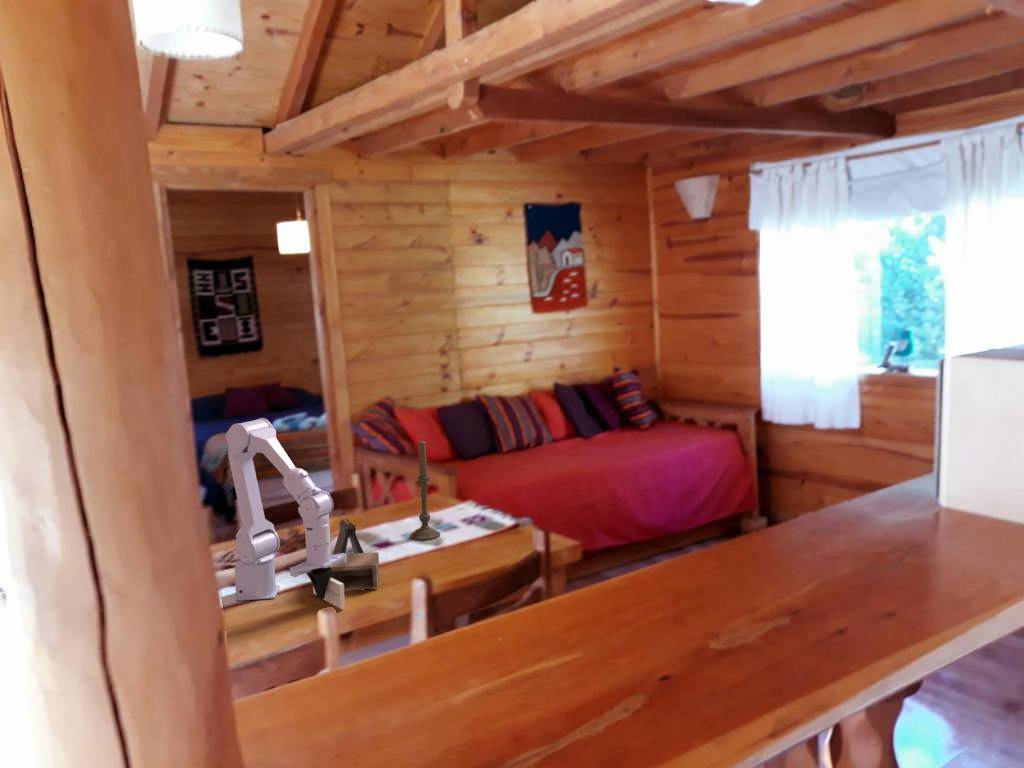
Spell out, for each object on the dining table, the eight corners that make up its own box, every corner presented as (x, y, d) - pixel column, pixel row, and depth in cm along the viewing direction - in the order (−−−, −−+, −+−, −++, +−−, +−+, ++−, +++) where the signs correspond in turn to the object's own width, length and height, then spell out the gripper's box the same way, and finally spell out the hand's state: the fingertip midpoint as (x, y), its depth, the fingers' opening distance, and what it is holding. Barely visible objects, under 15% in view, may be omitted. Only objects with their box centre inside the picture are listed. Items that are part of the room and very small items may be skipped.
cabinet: (313, 593, 211) (311, 568, 210) (318, 579, 221) (316, 555, 220) (377, 589, 212) (376, 564, 212) (379, 576, 222) (378, 552, 222)
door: (309, 594, 209) (307, 571, 208) (316, 592, 210) (315, 569, 210) (337, 610, 198) (335, 586, 198) (344, 608, 200) (343, 583, 199)
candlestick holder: (407, 533, 260) (404, 438, 256) (436, 530, 262) (433, 435, 259) (413, 542, 251) (409, 443, 247) (443, 538, 254) (439, 440, 250)
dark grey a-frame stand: (362, 558, 237) (360, 516, 236) (368, 564, 232) (366, 521, 231) (330, 563, 234) (328, 521, 232) (335, 569, 228) (333, 526, 227)
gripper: (299, 554, 193) (302, 610, 195) (353, 539, 203) (355, 593, 205) (284, 547, 198) (287, 603, 200) (337, 533, 208) (339, 586, 210)
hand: (320, 597), depth 203 cm, fingers closed
